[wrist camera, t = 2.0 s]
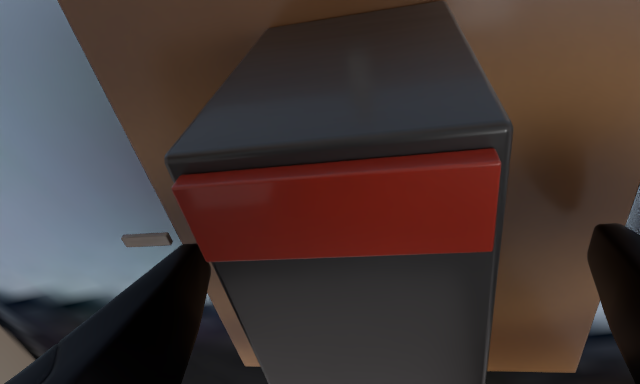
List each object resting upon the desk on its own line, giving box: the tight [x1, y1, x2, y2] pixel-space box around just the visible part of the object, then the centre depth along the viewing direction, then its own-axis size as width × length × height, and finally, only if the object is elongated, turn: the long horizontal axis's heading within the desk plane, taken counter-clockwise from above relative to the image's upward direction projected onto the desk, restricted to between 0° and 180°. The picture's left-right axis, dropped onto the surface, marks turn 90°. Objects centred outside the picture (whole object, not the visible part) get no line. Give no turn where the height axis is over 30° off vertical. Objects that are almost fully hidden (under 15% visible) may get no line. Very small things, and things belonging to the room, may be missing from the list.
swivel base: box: [57, 0, 640, 373], centre depth 11 cm, size 14×14×3 cm
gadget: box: [164, 1, 514, 384], centre depth 8 cm, size 10×3×5 cm, turn 11°
